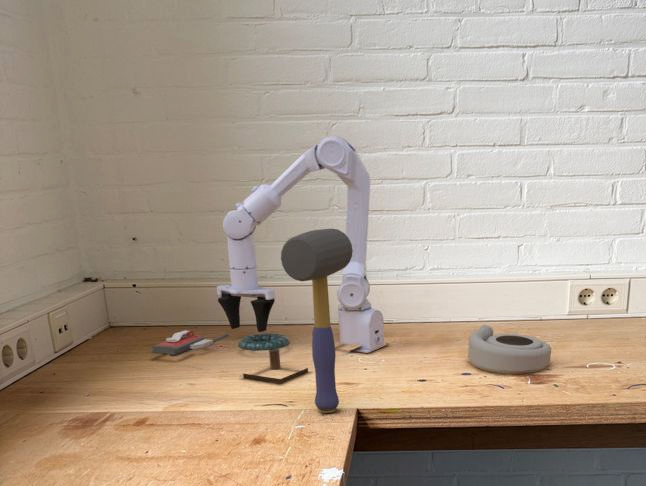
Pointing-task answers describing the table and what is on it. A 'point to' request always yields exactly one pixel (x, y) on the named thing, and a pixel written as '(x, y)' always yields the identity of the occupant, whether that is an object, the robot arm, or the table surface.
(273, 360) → the post
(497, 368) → the turbocharger housing
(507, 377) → the table surface
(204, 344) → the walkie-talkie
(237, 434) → the table surface
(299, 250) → the rubber mallet
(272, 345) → the hang ring
